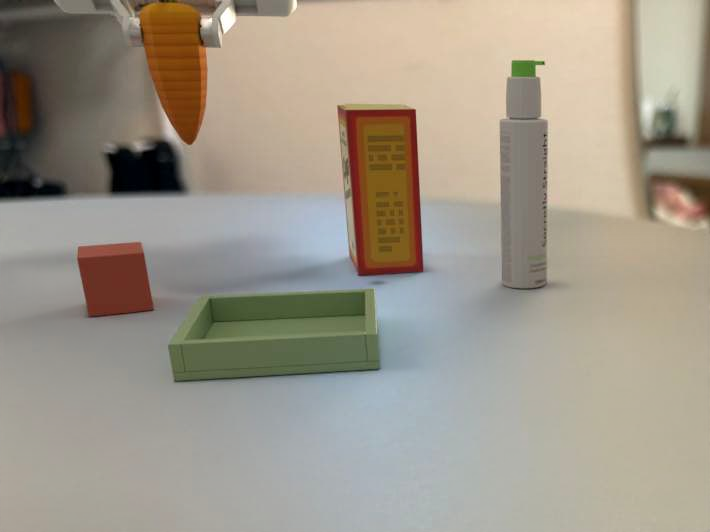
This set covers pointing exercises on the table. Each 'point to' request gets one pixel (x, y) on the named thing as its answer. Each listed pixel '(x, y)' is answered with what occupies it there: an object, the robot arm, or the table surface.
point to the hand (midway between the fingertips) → (173, 41)
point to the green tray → (276, 335)
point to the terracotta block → (114, 278)
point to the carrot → (176, 63)
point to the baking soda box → (381, 187)
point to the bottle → (524, 180)
